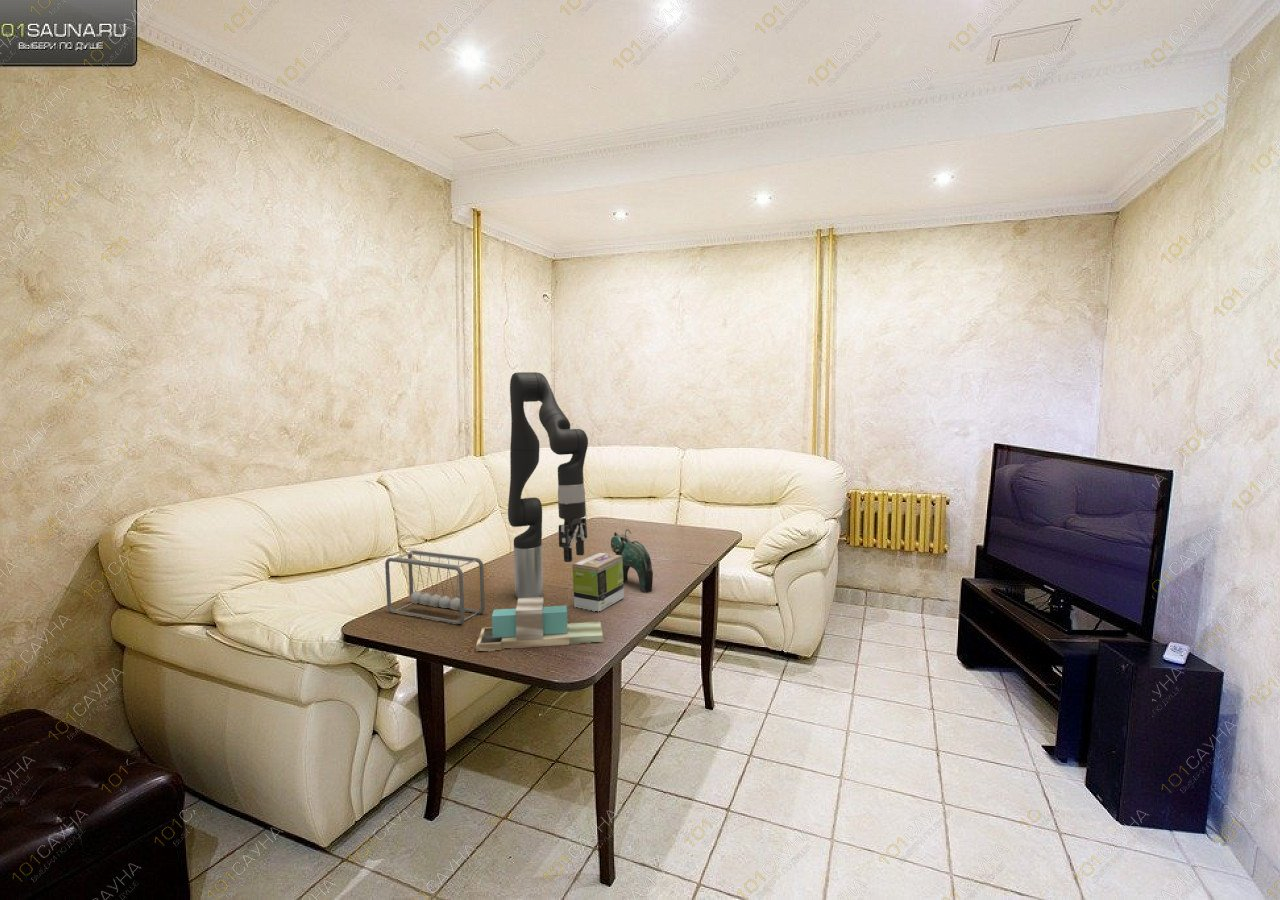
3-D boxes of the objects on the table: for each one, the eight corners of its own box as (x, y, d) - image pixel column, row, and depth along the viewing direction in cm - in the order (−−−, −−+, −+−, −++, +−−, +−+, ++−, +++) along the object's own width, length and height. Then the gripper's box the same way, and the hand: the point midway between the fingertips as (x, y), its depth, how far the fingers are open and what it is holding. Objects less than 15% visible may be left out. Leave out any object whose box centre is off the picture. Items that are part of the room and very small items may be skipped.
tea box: (599, 593, 198) (599, 551, 197) (624, 598, 193) (624, 554, 192) (572, 607, 186) (571, 562, 184) (598, 613, 180) (597, 566, 179)
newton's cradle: (485, 614, 181) (483, 558, 179) (463, 626, 171) (460, 567, 169) (412, 602, 193) (409, 549, 191) (386, 612, 183) (384, 557, 181)
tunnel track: (482, 634, 165) (481, 599, 164) (600, 626, 169) (599, 592, 168) (476, 652, 153) (475, 614, 152) (603, 643, 158) (602, 607, 157)
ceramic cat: (609, 580, 213) (608, 526, 211) (624, 577, 217) (623, 524, 215) (643, 594, 197) (642, 536, 195) (657, 590, 201) (657, 533, 199)
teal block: (494, 630, 162) (493, 609, 161) (567, 626, 165) (566, 605, 164) (492, 637, 157) (491, 616, 156) (567, 633, 160) (566, 611, 159)
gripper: (569, 497, 171) (572, 553, 171) (548, 503, 157) (551, 563, 157) (593, 497, 168) (596, 553, 169) (574, 503, 155) (576, 564, 155)
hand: (574, 558), depth 163 cm, fingers open, 8 cm apart
